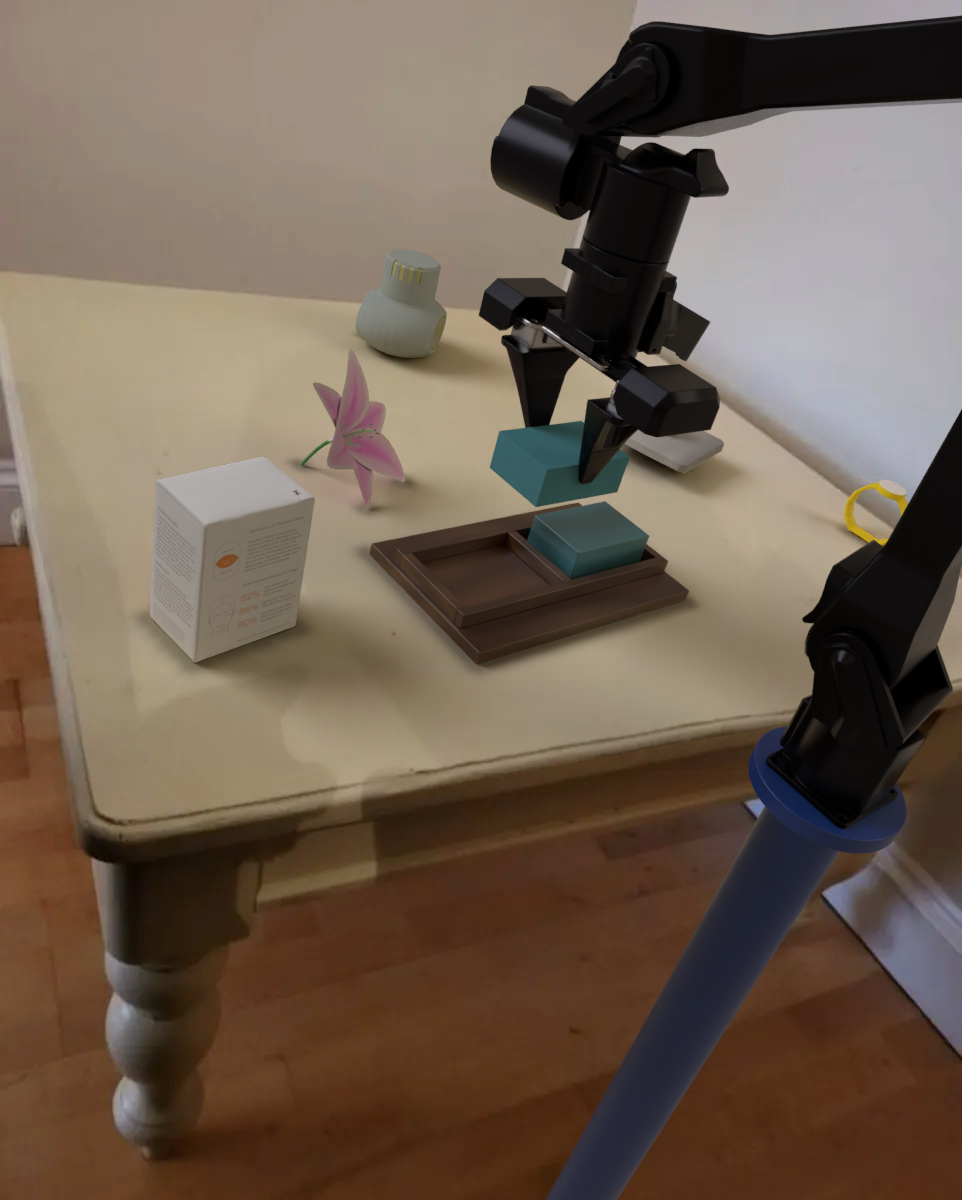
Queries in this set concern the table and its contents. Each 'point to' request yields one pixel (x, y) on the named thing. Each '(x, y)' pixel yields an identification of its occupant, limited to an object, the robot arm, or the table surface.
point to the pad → (551, 464)
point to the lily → (358, 431)
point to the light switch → (677, 448)
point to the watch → (885, 489)
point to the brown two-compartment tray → (530, 576)
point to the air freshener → (404, 307)
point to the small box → (228, 555)
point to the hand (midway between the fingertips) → (559, 462)
